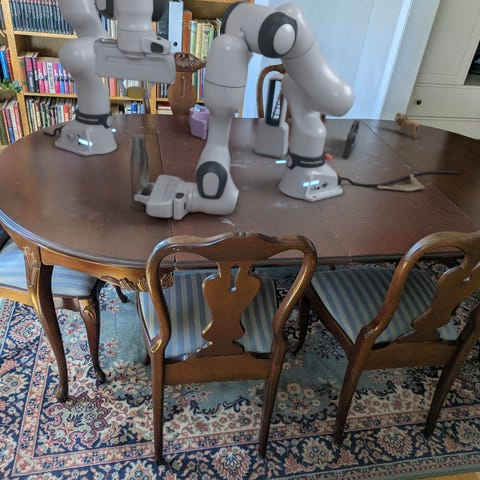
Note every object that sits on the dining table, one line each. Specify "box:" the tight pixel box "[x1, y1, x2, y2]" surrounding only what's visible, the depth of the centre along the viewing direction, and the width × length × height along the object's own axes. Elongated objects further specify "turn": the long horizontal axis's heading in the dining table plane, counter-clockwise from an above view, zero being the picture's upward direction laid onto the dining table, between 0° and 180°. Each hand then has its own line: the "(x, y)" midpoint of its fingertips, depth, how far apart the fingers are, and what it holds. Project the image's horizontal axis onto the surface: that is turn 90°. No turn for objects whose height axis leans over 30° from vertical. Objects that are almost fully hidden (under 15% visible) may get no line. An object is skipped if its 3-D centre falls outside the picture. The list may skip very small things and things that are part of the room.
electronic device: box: [252, 73, 290, 160], centre depth 177 cm, size 12×8×30 cm, turn 71°
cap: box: [126, 85, 146, 100], centre depth 122 cm, size 5×5×2 cm
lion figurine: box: [394, 112, 422, 139], centre depth 219 cm, size 15×5×9 cm, turn 50°
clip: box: [188, 106, 210, 140], centre depth 199 cm, size 20×12×7 cm, turn 23°
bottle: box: [129, 133, 150, 212], centre depth 135 cm, size 5×5×22 cm
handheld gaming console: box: [342, 119, 361, 159], centre depth 194 cm, size 23×3×10 cm, turn 161°
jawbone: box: [376, 173, 426, 193], centre depth 169 cm, size 9×20×2 cm, turn 126°
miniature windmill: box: [271, 64, 290, 126], centre depth 207 cm, size 9×8×30 cm
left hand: (136, 97), depth 123 cm, fingers closed on cap, 4 cm apart
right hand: (137, 191), depth 138 cm, fingers closed on bottle, 5 cm apart
